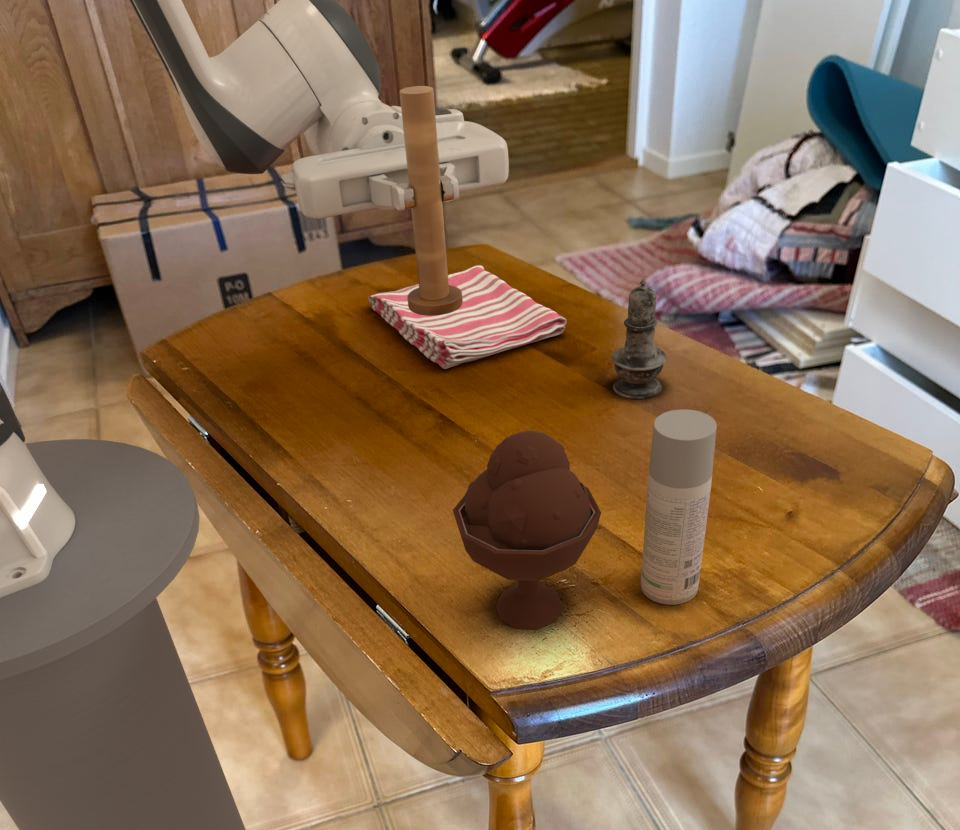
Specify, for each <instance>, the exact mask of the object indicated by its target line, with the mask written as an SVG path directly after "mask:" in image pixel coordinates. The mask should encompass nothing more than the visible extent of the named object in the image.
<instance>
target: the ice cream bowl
mask: <svg viewBox="0 0 960 830" xmlns="http://www.w3.org/2000/svg"><path fill="white" fill-rule="evenodd" d="M570 466H571V464H570V460H569V459H568V456H567V453H566V451H565V448H564V445H563V444H561V443H560V442H559V443H558V441H557V440H556V439H555V438H554V437H552V436H550V435H548V434H546V433H544V432H543V431H535V430H524V431H519V432H516V433H512V434H511V435H509V436H508V437H507V436H506V437H505V438H504V439H503V440H502V441H500V443H498V444H497V445H496V447H495V448H494V450H493V451H492V453H491V454H490V456H489V459H488V461H487V464H486V469H485V470H483V471H482V472H481V473H479V475H478V476H477V477H475V479H474V480H473V481H471V482H470V483H469V484H468V487H467V490H466V492H465V494H464V496H463V497H462V498H461V499H460V500H459V501H458V503H457V504H456V505H455V506H454V508H453V509H452V512H453V517H454V519H455V522H456V525H457V529H458V532H459V534H460V538H461V540H462V545H463V546H464V550H465V552H466V554H468V556H469V557H470V559H471V560H472V562H474V563H476V564H478V565H479V566H481V567H483V568H484V569H486V570H489V571H490V572H492V573H495V574H496V575H498V576H500V577H502V578H504V579H506V580H508V581H517V584H515V585H513V586H510V587H508V588H505V589H504V591H502V594H501V595H500V596H499V598H497V599H498V600H496V604H495V610H496V613H497V615H498V618H499V621H502V622H503V623H505V624H506V625H509V626H511V627H512V628H514V629H517V630H519V629H520V630H539V629H541V628H544V627H546V626H548V625H552V624H553V623H556V622H557V621H558V619H559V617H560V615H562V614H561V613H562V612H563V610H564V605H563V603H562V600H561V599H560V596H559V594H558V591H557V590H556V589H554V588H552V587H550V586H547V585H546V584H544V583H542V582H541V583H540V581H542V580H544V579H547V578H549V577H552V576H554V575H557V574H559V573H561V572H564V571H565V570H567V569H569V568H571V567H573V566H574V565H576V564H577V563H578V561H579V560H580V558H581V556H582V554H583V552H584V551H585V549H586V548H587V546H588V544H589V543H590V541H591V539H592V538H593V536H594V534H595V533H596V531H597V529H598V526H599V522H600V519H601V516H602V515H601V514H602V511H601V509H600V507H599V505H598V504H597V502H596V500H595V498H594V496H593V494H592V492H591V490H590V488H589V487H587V486H586V485H584V483H583V482H581V480H580V479H579V478H578V476H577V475H576V474H575V473H574V472H573V471H572V470H571V467H570Z"/></svg>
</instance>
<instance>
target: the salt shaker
mask: <svg viewBox="0 0 960 830" xmlns="http://www.w3.org/2000/svg"><path fill="white" fill-rule="evenodd" d="M640 280H641V281H640V282H639V284H640V285H639V286H636V287H634V288H633V289H632V290H631V291H630V292H629V293H628V303H627V309H628V310H627V318H626V319H624V321H623V325H624V327H625V328H626V333H625V341H624V342H625V343H624V345H623V346H622V347H620V348H617V349H616V350H615V351H614V352H612V355H611V362H612V363H613V364H614V367H613V368H614V370H615V372H616V375H617V376H618V377H619V378H618V379H617V380H616V381H615V382H614V383H613V386H612V389H613V391H614V393H615V394H616V395H618V396H620V397H622V398H624V399H625V398H626V399H629V400H630V399H632V400H645V399H650V398H653V397H656V396H657V395H659V394H660V393H661V391H662V389H663V386H662V383H661V382H660V381H659V380H657V378H658V377H659V376H660V374H661V372H662V371H663V368H664V365H665V363H666V362H667V360H668V357H667V353H666V352H664V351H663V350H662V349H660V348H658V347H656V344H655V335H656V334H655V333H656V328H657V327H658V326H659V321H658V319H657V318H656V309H657V307H656V306H657V294H656V292H655V290H654V289H653V288H651V287H649V286H647V285H646V284H647V283H648V282H647V281H646V280H645V278H642V279H640Z"/></svg>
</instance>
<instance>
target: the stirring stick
mask: <svg viewBox="0 0 960 830" xmlns="http://www.w3.org/2000/svg"><path fill="white" fill-rule="evenodd" d="M399 100H400V107H401V111H402V121H403V131H404V141H405V151H406V161H407V171H408V181H409V185H410V186H412V187H413V190H414V197H413V199H414V201H415V207H414V208H410V210H411V211H410V212H411V219H412V220H411V221H412V230H413V238H414V239H413V241H414V250H415V260H416V270H417V279H418V281H417V282H418V284H419V288H416V289H414V290H412V291H411V292H410V293H409V294H408V297H407V299H408V307H409V309H410V310H411V311H412V312H414V313H416V314H419V315H426V316H436V315H444V314H448V313H451V312H454V311H456V310H457V309H459V308H460V307H461V306H462V304H463V299H462V291H461V290H460V289H459V288H457V287H455V286H452V285H449V282H448V275H449V270H448V258H447V243H446V235H445V234H446V231H445V218H444V206H443V202H442V192H441V179H440V167H439V154H438V141H437V128H436V116H435V109H436V104H435V103H436V102H435V91H434V87H432V86H427V85H413V86H408V87H404V88H401V89H400V90H399Z"/></svg>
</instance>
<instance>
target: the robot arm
mask: <svg viewBox="0 0 960 830" xmlns="http://www.w3.org/2000/svg"><path fill="white" fill-rule="evenodd" d="M128 1H129V3H130V5H131V6H132V8H133V10H134V12H135V14H136V16H137V17H138V19H139V21H140V23H141V25H142V27H143V29H144V31H145V33H146V34H147V36H148V39H149V40H150V41H151V42H150V43H151V44H152V46H153V48H154V50H155V51H156V53H157V56H158V58H159V59H160V61H161V63H162V65H163V67H164V68H165V70H166V72H167V74H168V76H169V79H170V81H171V83H172V84H173V86H174V88H175V90H176V92H177V94H178V97H179V99H180V101H181V103H182V106H183V109H184V112H185V114H186V117H187V120H188V122H189V125H190V127H191V130H192V132H193V133H194V135H195V138H196V139H197V140H198V142H199V144H200V145H201V147H202V148H203V149H204V151H205V152H206V153H207V155H208V156H209V157H210V158H211V159H212V160H213V161H214V162H215V163H216V164H218V166H221V168H223V170H224V171H226V172H229V173H235V174H240V175H241V174H243V175H263V174H264V173H265V172H266V171H267V170H268V169H269V168H270V167H271V166H272V165H273V164H274V163H275V162H276V161H277V160H278V159H279V157H281V156H282V155H283V153H285V149H287V148H288V147H289V146H290V145H292V144H293V143H294V142H295V141H296V140H297V139H298V138H300V137H301V136H302V135H303V136H304V140H305V142H306V144H307V147H308V149H309V151H310V152H311V154H312V155H309V156H305V157H301V158H299V159H296V160H294V161H293V162H292V165H291V172H288V173H283V174H281V176H280V183H281V184H282V186H283V187H284V188H285V189H286V190H287V191H292V192H295V194H296V199H297V204H298V207H299V209H300V211H301V213H302V215H303V216H304V217H305V218H307V219H314V220H321V219H327V218H331V217H336V216H337V217H338V216H342V215H347V214H348V215H349V214H352V213H358V212H362V211H370V210H376V211H377V210H378V211H389V210H394V209H396V210H397V211H400V212H401V211H405V210H411V208H414V207H415V201H414V199H413V197H414V190H413V187H412V186H410V185H409V181H408V171H407V161H406V151H405V141H404V131H403V121H402V111H401V106H398V105H391V106H390V105H388V104H386V103H383V102H382V100H380V99H379V96H380V95H381V88H382V81H381V80H382V79H381V72H380V66H379V63H378V60H377V58H376V56H375V53H374V51H373V49H372V47H371V45H370V43H369V41H368V39H367V38H366V37H365V35H364V33H363V31H362V30H361V29H360V27H359V26H358V24H357V23H356V22H355V20H354V19H353V18H352V16H351V15H350V14H349V13H348V12H347V11H346V10H345V8H343V7H342V5H340V4H339V3H338V2H337V1H336V0H278V1H277V2H276V3H275V4H274V5H273V6H272V7H270V8H269V9H268V10H266V12H265V13H264V14H262V15H261V16H260V17H259V18H258V19H257V21H256V22H254V24H252V25H250V27H249V28H247V30H246V31H244V32H243V33H242V34H241V35H240V36H238V38H237V39H235V40H234V41H233V42H232V43H230V45H228V46H227V47H226V48H224V49H223V51H221V52H220V53H218V54H217V55H215V56H209V54H208V52H207V50H206V48H205V45H204V44H203V42H202V39H201V37H200V36H199V33H198V31H197V29H196V27H195V25H194V23H193V21H192V19H191V17H190V14H189V12H188V11H187V9H186V7H185V4H184V2H183V0H128ZM435 116H436V128H437V141H438V154H439V167H440V179H441V192H442V203H447V202H451V201H453V202H454V201H457V200H459V199H460V193H463V192H469V191H474V190H479V189H485V188H490V187H495V186H500V185H503V184H505V183H506V182H507V180H508V178H509V173H510V159H509V148H508V144H507V141H506V140H505V139H504V138H503V137H502V136H500V135H499V134H498V133H496V132H495V131H493V130H491V129H489V128H487V127H485V126H484V125H482V124H480V123H477V122H472V121H468V120H465V118H464V113H463V112H462V111H461V110H458V109H454V108H435ZM22 427H23V426H22V423H21V421H20V418H19V416H18V414H17V411H16V409H15V406H14V404H13V402H12V400H11V398H10V396H9V394H8V392H7V391H6V390H5V389H4V387H3V385H2V383H1V382H0V598H2V597H5V596H7V595H10V594H13V593H15V592H18V591H21V590H23V589H26V588H29V587H31V586H34V585H36V584H39V583H41V582H42V581H44V580H45V579H46V578H47V577H48V575H49V573H50V570H51V567H52V563H53V559H54V558H55V556H56V555H57V554H58V553H59V551H60V550H61V549H62V548H63V547H64V546H65V545H66V543H67V542H68V541H69V539H70V538H71V536H72V534H73V532H74V528H75V522H76V520H75V515H74V513H73V511H72V510H71V508H70V507H69V506H68V505H67V504H66V503H65V502H64V501H63V500H62V498H61V497H60V496H59V495H58V494H57V492H56V491H55V490H54V488H53V487H52V486H51V484H50V483H49V482H48V480H47V479H46V477H45V476H44V474H43V473H42V471H41V470H40V468H39V467H38V465H37V463H36V462H35V460H34V458H33V457H32V455H31V453H30V452H29V450H28V448H27V446H26V436H25V434H24V432H23V429H22Z"/></svg>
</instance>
